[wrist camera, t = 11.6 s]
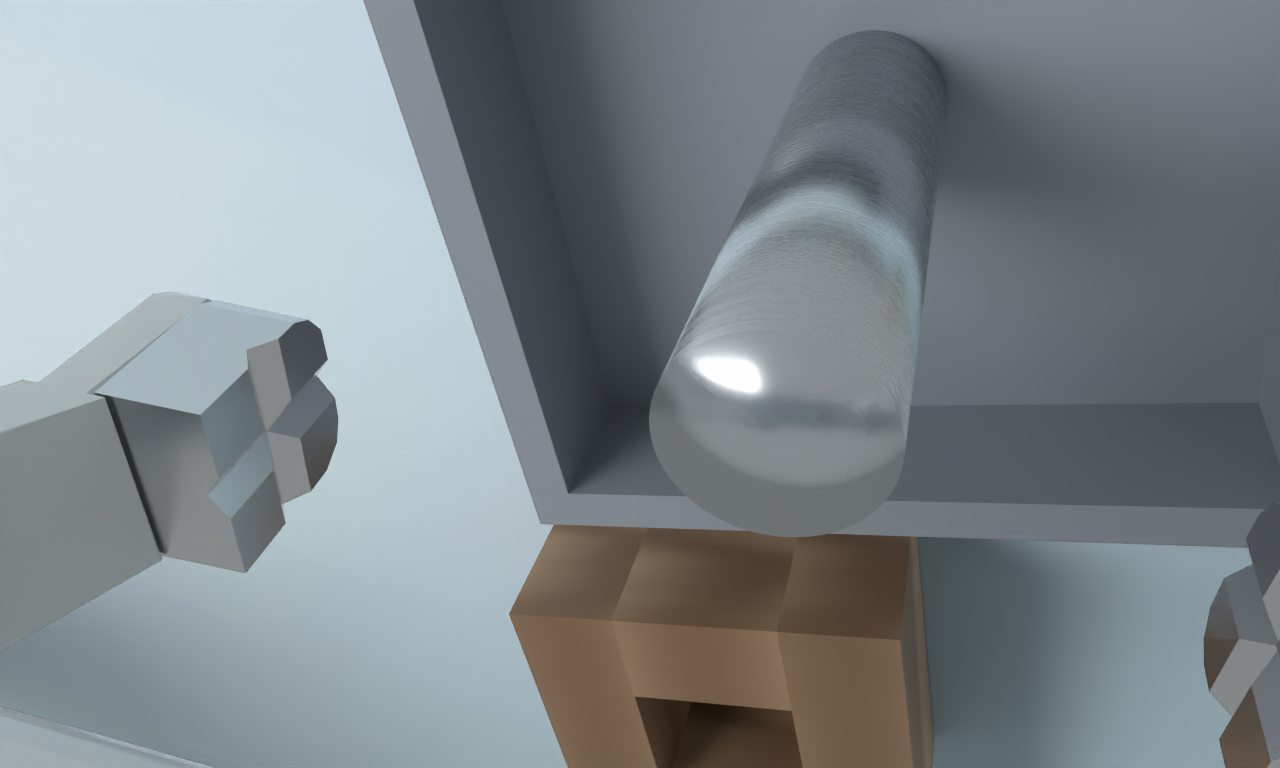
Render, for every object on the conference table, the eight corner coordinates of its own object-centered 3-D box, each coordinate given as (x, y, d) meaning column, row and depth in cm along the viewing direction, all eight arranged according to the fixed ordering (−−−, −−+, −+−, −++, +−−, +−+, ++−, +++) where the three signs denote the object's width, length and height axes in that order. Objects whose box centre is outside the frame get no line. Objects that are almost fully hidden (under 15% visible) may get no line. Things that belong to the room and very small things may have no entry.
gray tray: (596, 416, 23) (540, 523, 20) (398, -291, 16) (269, -277, 13) (1295, 412, 18) (1348, 550, 16) (1458, -588, 11) (1611, -663, 8)
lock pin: (829, 194, 18) (715, 555, 11) (773, 67, 17) (606, 371, 10) (968, 144, 17) (942, 511, 9) (916, 5, 16) (844, 298, 9)
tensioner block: (638, 709, 29) (595, 839, 26) (570, 490, 25) (509, 613, 22) (934, 738, 26) (924, 887, 23) (913, 498, 22) (900, 640, 19)
